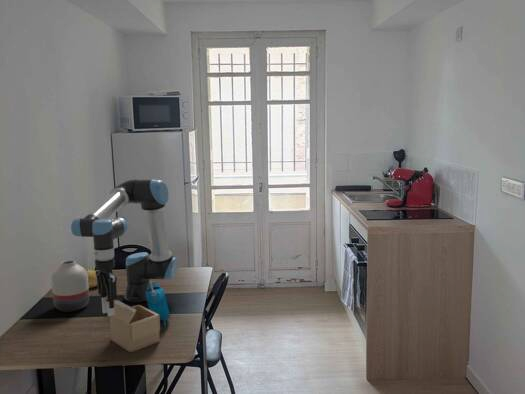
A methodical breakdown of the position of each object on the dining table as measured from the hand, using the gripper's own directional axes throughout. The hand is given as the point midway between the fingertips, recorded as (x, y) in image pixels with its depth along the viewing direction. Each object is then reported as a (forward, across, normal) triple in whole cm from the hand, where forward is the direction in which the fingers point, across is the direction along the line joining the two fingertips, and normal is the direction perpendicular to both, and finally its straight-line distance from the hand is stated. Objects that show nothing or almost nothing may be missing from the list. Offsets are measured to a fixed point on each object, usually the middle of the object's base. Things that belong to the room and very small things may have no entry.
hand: (108, 313), depth 208 cm
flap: (+1, 0, +6) cm, 7 cm away
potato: (+16, -77, +28) cm, 84 cm away
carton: (+16, 0, +11) cm, 19 cm away
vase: (+16, -56, +8) cm, 59 cm away
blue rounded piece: (+16, -10, +29) cm, 35 cm away
